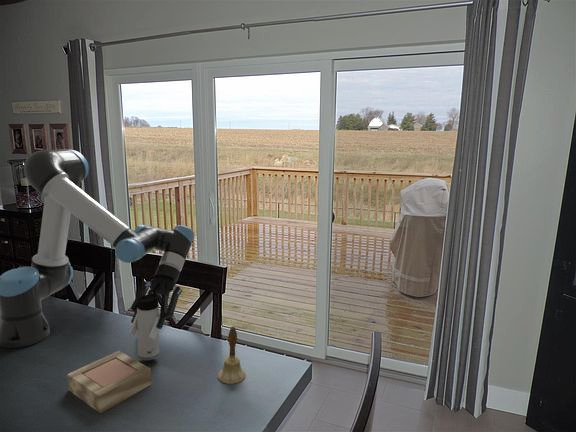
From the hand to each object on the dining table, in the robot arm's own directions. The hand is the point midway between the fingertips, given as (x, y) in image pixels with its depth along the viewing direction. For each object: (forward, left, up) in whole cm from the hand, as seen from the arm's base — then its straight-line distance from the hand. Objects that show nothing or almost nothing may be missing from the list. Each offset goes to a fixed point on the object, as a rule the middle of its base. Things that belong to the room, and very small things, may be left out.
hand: (141, 336), depth 122 cm
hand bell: (+25, +13, -10) cm, 30 cm away
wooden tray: (+2, -12, -10) cm, 16 cm away
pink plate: (+2, -12, -7) cm, 14 cm away
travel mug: (-1, +3, -9) cm, 9 cm away
